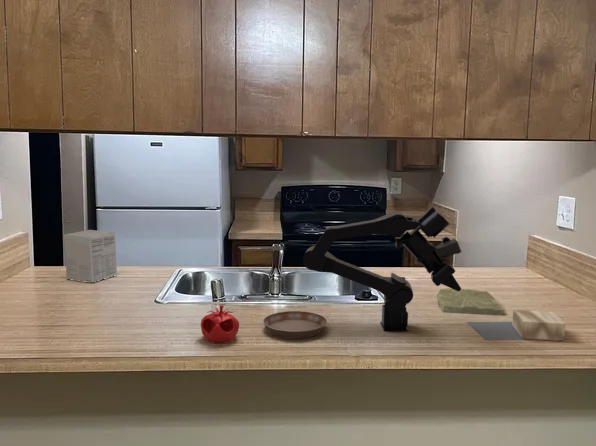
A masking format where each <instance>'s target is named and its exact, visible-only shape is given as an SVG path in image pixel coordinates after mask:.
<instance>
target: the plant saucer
mask: <svg viewBox="0 0 596 446" xmlns="http://www.w3.org/2000/svg"><path fill="white" fill-rule="evenodd" d="M262 321H263V324H264V326H265V328H266V329H267V330H268V331H269V332H270V333H271V334H272V335H274V336H276V335H277V337H279V336H280V338H284V337H285V339H306V338H311V337H313V336H316V335H318V334H319V333H321V331H322V330H323V329H324V328H325V326H326V324H327V318H325V316H323V315H321V314H318V313H315V312H310V311H301V310H292V311H291V310H288V311H287V310H286V311H281V312H280V311H279V312H276V313H272V314H268V315H267V316H266V317H264V318H263V320H262ZM305 337H306V338H305Z"/></svg>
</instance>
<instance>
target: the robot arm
mask: <svg viewBox="0 0 596 446" xmlns="http://www.w3.org/2000/svg"><path fill="white" fill-rule="evenodd" d="M449 226H450V222H448V221H447V219H446V218H445V217H444V216H443V215H442V214H441V213H439V212H438V211H437V210H436V208H434V207H433V206H430V207H429V208H428V209H427V210H426V212H425V213H423V214H422V215H421V216H420V217H419V218H415V217H409V216H406V215H405V214H404V213H403V212H401V211H393V212H390V213H388V214H385V215H383V216H379V217H377V218H375V219H371V220H365V221H359V222H353V223H352V222H351V223H346V224H340V225H330V226H327V227H326V228H325V230H324V232H323V233H322V235H321V236H320V238H319V239H318V241H316V243H315V245H313V246H310V247H309V248H307V250H306V251H305V253H304V255H303V257H302V263H303V265H304V267H305V268H306V269H307V270H309V271H314V272H318V273H319V272H320V273H328V274H329V273H330V274H334V275H336V276H339V277H342V278H344V279H346V280H347V279H348V280H350V281H352V282H355V283H358V284H360V285H362V286H365V287H367V288H369V289H370V288H371V289H373V290H376V291H378V292H380V293H381V294H382V295H383V303H384V304H382V306H381V321H380V323H379V324H380V326H381V328H382V330H383V331H384V332H407V331H408V326H409V325H408V324H409V312H408V311H407V307H406V306H407V305H408V304H409V303H411V302H412V301H413V298H414V291H413V288H412V285H411V283H410V282H409V281H408V280H407V279H406V277H405V276H399V275H397V274H396V273H393V272H391V273H390V276H383V275H380V274H379V273H375V272H372V271H371V270H370V271H369V270H367V269H365V268H362V267H359V266H357V265H354V264H351V263H349V262H346V261H344V260H341V259H339V258H337V257H336V256H334V255H333V254H332V253H330V252H329V249H330V248H331V247H332V245H333V244H334V242H336V241H339V240H346V239H352V238H359V237H361V238H362V237H367V236H371V235H382V236H396V237H395V248H396V249H399V248H400V247H401V246H403V247H404V248H406V249H407V251H409V253H410V254H411V255H412V256H413V257H414V259H416V261H417V262H418V263H420V264H421V265H422V266H423V268H425V271H426V272H427V273H428V274H429V275H430V279H431V282H432V283H433V284H434V285H436V287H439V286H440V285H442V286H445V287H447V288H449V289H454V290H456V291H460V290H461V289H462V287H461V286H460V284H459V283H458V281H457V280H456V278H455V277H454V275H453V274H455V273H456V269H455V268H454V267H453V265H452V264H451V262H446V261H447V259H448V257H451V256H453V255H459V254H460V253H462V249H461V247H460V245H459V242H458V240H457V239H456V238H452V239H451V238H449V237H448V236H445V237H442V238H441V243H439V244H438V245H436V246H435V245H434V243H433V242H430V241H429V240H428V239H427V238H436V237H437V236H439V234H441V232H442V231H444V230H445V229H446V228H447V227H449ZM420 230H421V232H423V234H422V233H421V232H420ZM424 235H425V236H426V237H427V238H426V237H425V236H424ZM399 236H400V237H399Z"/></svg>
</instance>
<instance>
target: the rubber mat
mask: <svg viewBox="0 0 596 446" xmlns="http://www.w3.org/2000/svg"><path fill="white" fill-rule="evenodd" d="M466 324H468V326H470V327H471V328H472V329H473V330H474V331H475V332H476V333H477V334H478V335H479V336H481V338H483V339H484V340H485V341H535V340H534V339H523V338H522V337H521V336H520V335H519V333H518V332H517V331H516V329H515V328H514V327H513V326H512V321H466ZM565 340H566V341H567V340H568V341H570V340H569V338H567V337H566V336H564V340H563V341H565Z"/></svg>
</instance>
